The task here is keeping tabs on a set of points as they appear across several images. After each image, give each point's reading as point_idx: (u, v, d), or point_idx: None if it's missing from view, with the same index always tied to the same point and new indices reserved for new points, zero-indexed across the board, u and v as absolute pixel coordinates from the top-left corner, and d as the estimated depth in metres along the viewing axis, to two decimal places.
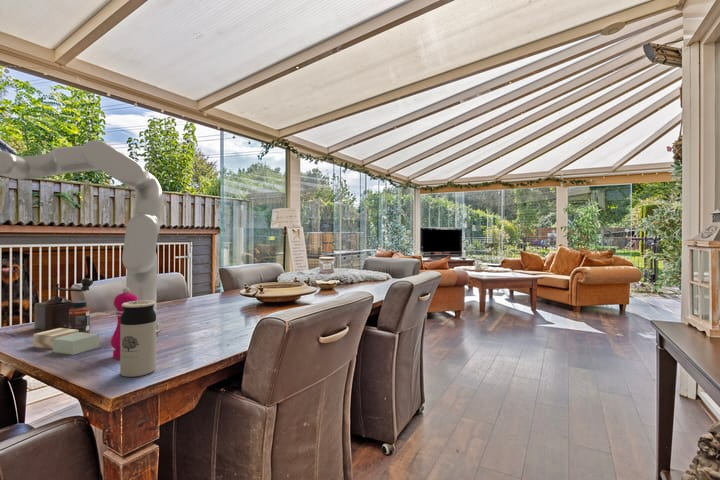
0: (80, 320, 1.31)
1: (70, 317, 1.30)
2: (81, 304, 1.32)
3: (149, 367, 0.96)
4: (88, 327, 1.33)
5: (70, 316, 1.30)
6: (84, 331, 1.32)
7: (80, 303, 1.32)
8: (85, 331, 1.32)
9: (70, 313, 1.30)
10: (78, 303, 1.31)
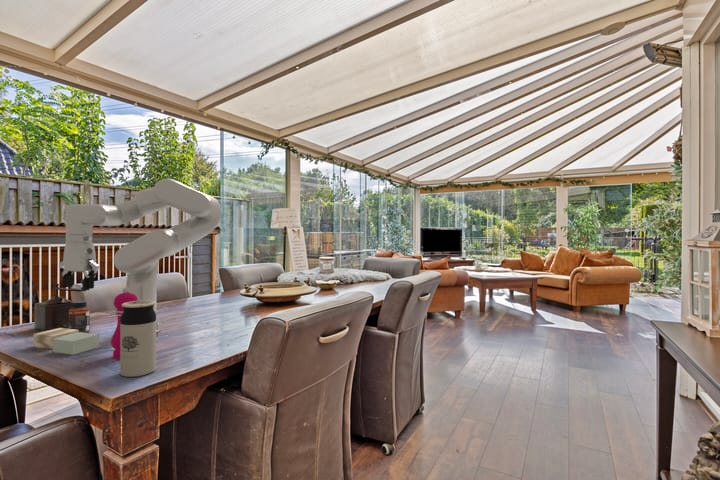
0: (80, 320, 1.31)
1: (70, 317, 1.30)
2: (81, 304, 1.32)
3: (149, 367, 0.96)
4: (88, 327, 1.33)
5: (70, 316, 1.30)
6: (84, 331, 1.32)
7: (80, 303, 1.31)
8: (85, 331, 1.32)
9: (70, 313, 1.30)
10: (78, 303, 1.31)
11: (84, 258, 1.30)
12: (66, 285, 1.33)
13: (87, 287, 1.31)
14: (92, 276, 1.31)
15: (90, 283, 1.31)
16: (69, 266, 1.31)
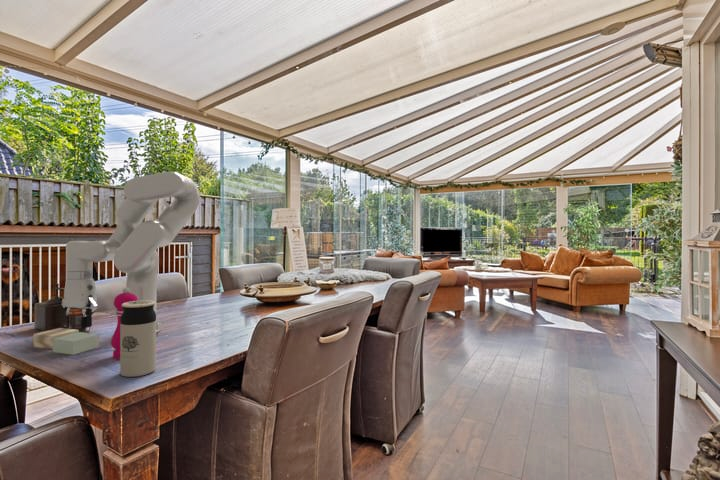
0: (80, 320, 1.31)
1: (70, 317, 1.30)
2: None
3: (149, 367, 0.96)
4: (88, 327, 1.33)
5: (70, 316, 1.30)
6: (84, 331, 1.32)
7: None
8: (85, 331, 1.32)
9: (70, 313, 1.30)
10: None
11: (85, 295, 1.30)
12: None
13: (85, 326, 1.31)
14: (90, 315, 1.32)
15: (88, 322, 1.31)
16: (70, 303, 1.31)
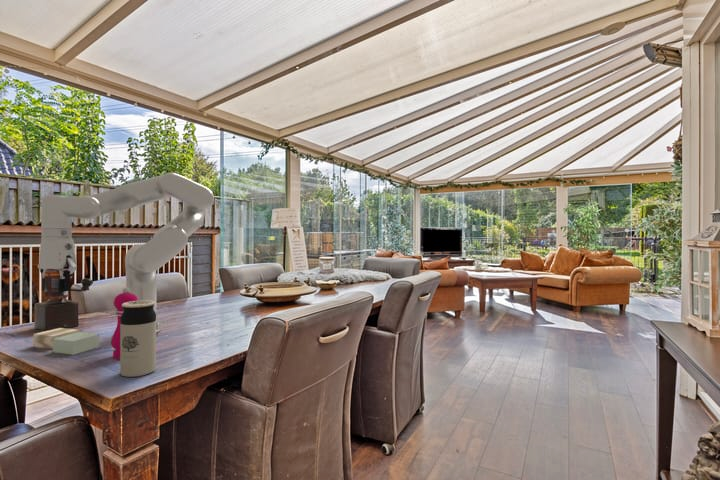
0: (56, 282, 1.17)
1: (46, 279, 1.17)
2: None
3: (149, 367, 0.96)
4: (66, 291, 1.20)
5: (46, 278, 1.17)
6: (62, 295, 1.18)
7: None
8: (63, 295, 1.19)
9: (46, 275, 1.17)
10: None
11: (62, 254, 1.17)
12: None
13: (62, 289, 1.18)
14: (68, 277, 1.18)
15: (66, 285, 1.18)
16: (46, 264, 1.18)
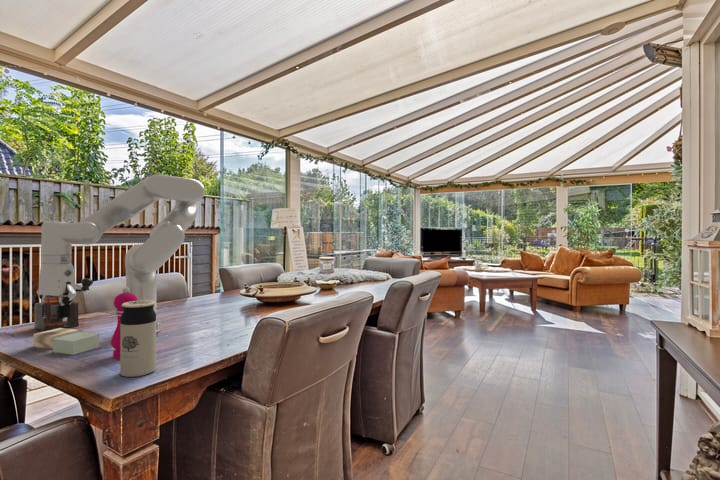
0: (56, 309, 1.17)
1: (45, 306, 1.17)
2: None
3: (149, 367, 0.96)
4: (65, 318, 1.20)
5: (45, 305, 1.17)
6: (61, 322, 1.18)
7: None
8: (62, 322, 1.19)
9: (45, 301, 1.17)
10: None
11: (62, 281, 1.17)
12: None
13: (62, 316, 1.18)
14: (67, 304, 1.18)
15: (65, 311, 1.18)
16: (45, 290, 1.18)
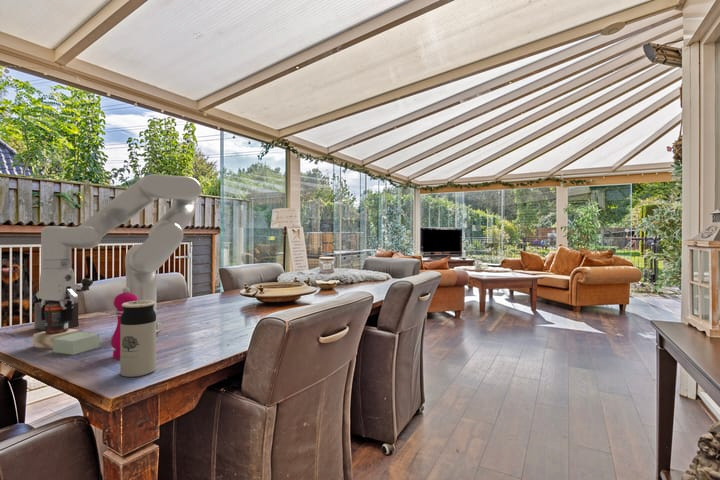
0: (57, 317, 1.18)
1: (46, 314, 1.17)
2: None
3: (149, 366, 0.96)
4: (67, 325, 1.20)
5: (46, 312, 1.17)
6: (62, 329, 1.19)
7: None
8: (63, 329, 1.19)
9: (46, 309, 1.17)
10: None
11: (62, 286, 1.17)
12: None
13: (64, 319, 1.18)
14: (69, 307, 1.18)
15: (67, 315, 1.18)
16: (46, 295, 1.18)
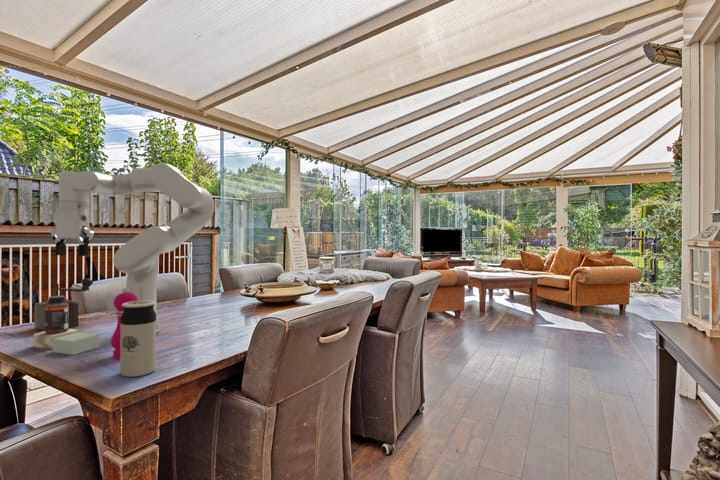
0: (57, 317, 1.18)
1: (46, 314, 1.17)
2: (58, 299, 1.18)
3: (149, 366, 0.96)
4: (67, 325, 1.20)
5: (46, 312, 1.17)
6: (62, 329, 1.19)
7: (57, 298, 1.18)
8: (63, 329, 1.19)
9: (46, 309, 1.17)
10: (55, 298, 1.18)
11: (78, 225, 1.30)
12: (59, 253, 1.33)
13: (82, 254, 1.31)
14: (86, 243, 1.31)
15: (85, 250, 1.31)
16: (62, 233, 1.31)
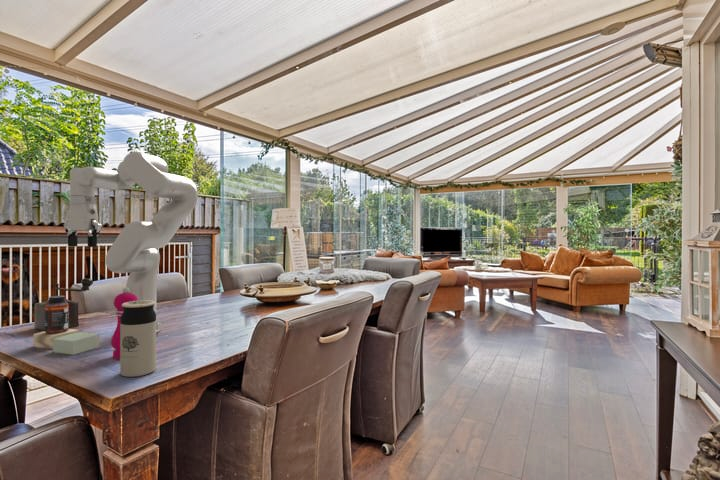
0: (57, 317, 1.18)
1: (46, 314, 1.17)
2: (58, 299, 1.19)
3: (149, 366, 0.96)
4: (67, 325, 1.20)
5: (46, 312, 1.17)
6: (62, 329, 1.19)
7: (57, 298, 1.18)
8: (63, 329, 1.19)
9: (46, 309, 1.17)
10: (55, 298, 1.18)
11: (87, 218, 1.40)
12: (71, 244, 1.43)
13: (90, 245, 1.40)
14: (95, 235, 1.41)
15: (93, 241, 1.41)
16: (73, 226, 1.41)
